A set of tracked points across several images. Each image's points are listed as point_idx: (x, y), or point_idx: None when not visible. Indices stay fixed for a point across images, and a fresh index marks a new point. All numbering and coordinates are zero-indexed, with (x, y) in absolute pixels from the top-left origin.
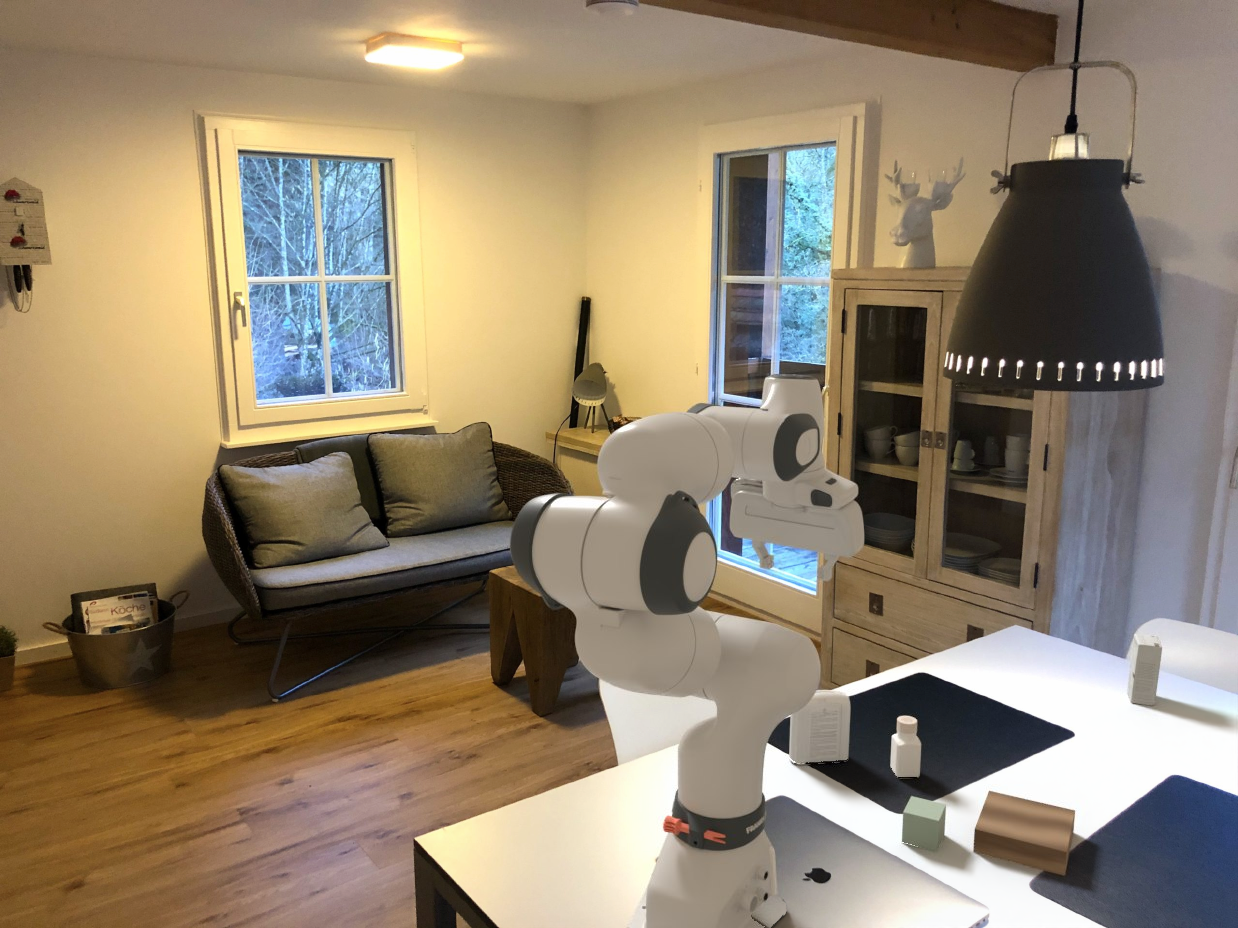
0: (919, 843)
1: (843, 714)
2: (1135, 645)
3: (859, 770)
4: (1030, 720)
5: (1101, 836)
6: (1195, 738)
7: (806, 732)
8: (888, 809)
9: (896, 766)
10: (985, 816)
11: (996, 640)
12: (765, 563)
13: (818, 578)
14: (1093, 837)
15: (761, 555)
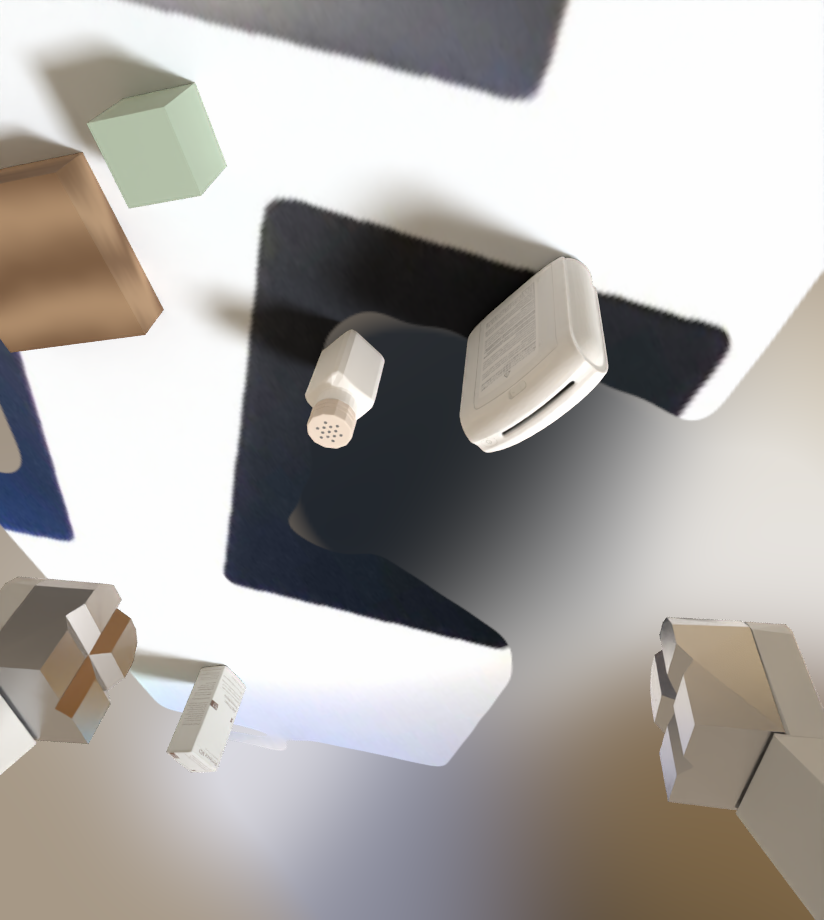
0: (154, 93)
1: (471, 394)
2: (208, 751)
3: (431, 315)
4: (293, 587)
5: None
6: None
7: (544, 311)
8: (298, 202)
9: (351, 343)
10: (79, 236)
11: (452, 742)
12: (720, 669)
13: (89, 584)
14: None
15: (811, 769)
